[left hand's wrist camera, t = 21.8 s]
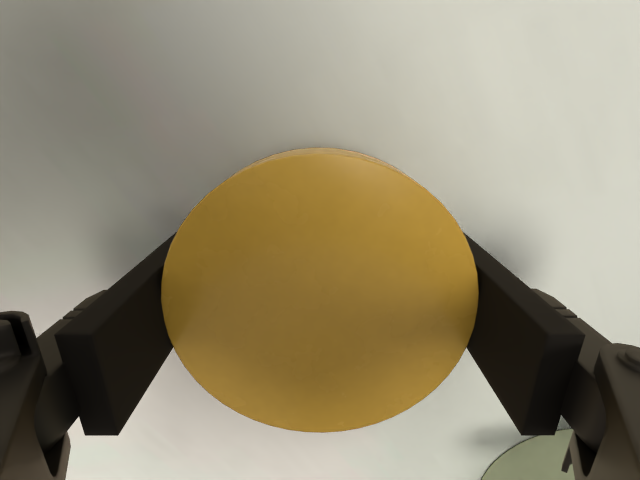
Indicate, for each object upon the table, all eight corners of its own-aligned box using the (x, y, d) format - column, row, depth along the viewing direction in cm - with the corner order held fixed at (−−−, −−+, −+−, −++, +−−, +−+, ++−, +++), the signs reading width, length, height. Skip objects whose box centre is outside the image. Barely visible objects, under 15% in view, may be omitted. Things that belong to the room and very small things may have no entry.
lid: (453, 122, 10) (478, 125, 8) (460, 378, 13) (479, 415, 12) (144, 174, 10) (112, 184, 9) (221, 408, 14) (208, 447, 12)
